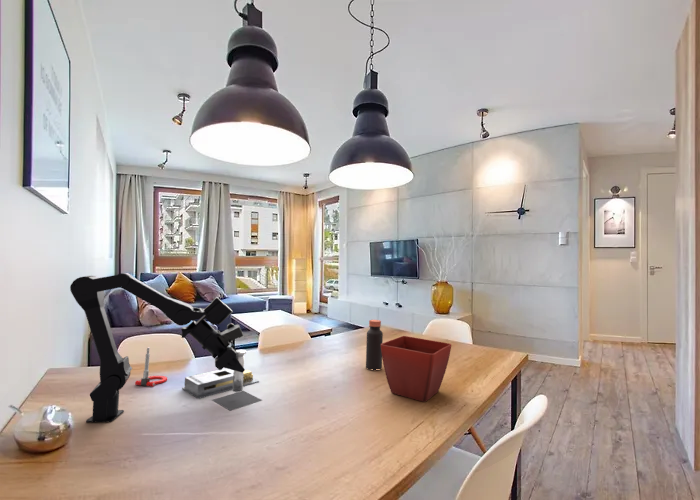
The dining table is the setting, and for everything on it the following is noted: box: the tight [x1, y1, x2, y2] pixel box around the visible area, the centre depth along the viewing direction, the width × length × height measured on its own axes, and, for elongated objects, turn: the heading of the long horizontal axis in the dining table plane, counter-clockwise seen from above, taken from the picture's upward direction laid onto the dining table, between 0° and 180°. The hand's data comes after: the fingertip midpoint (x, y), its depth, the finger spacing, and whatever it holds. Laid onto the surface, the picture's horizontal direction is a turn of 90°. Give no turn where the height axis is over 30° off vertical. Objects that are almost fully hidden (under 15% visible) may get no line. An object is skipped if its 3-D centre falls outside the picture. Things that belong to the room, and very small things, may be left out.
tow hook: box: [134, 347, 168, 388], centre depth 123 cm, size 8×13×9 cm
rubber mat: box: [212, 390, 263, 412], centre depth 108 cm, size 11×11×1 cm
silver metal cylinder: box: [232, 349, 247, 393], centre depth 108 cm, size 4×4×12 cm
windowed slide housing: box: [181, 368, 260, 400], centre depth 120 cm, size 22×12×4 cm, turn 138°
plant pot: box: [381, 335, 452, 403], centre depth 120 cm, size 19×19×17 cm
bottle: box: [365, 319, 384, 371], centre depth 146 cm, size 7×7×20 cm
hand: (243, 369), depth 109 cm, fingers closed on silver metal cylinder, 3 cm apart
